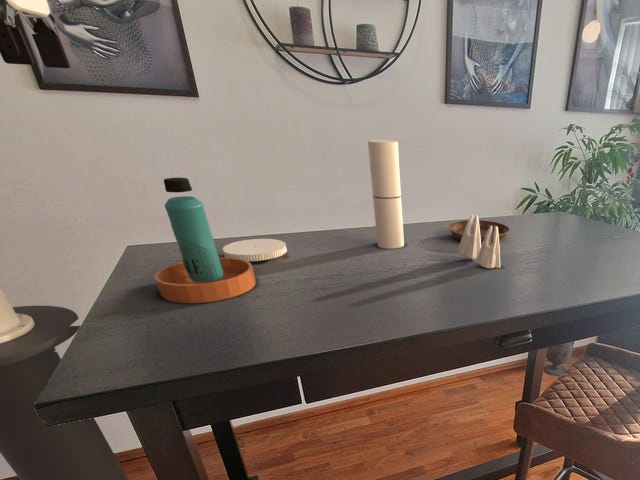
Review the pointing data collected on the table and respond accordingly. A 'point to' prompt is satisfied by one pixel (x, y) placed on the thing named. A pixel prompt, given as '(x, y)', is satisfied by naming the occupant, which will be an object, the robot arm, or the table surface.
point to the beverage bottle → (192, 233)
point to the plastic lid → (255, 249)
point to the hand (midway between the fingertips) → (40, 66)
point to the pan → (184, 290)
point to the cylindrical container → (386, 192)
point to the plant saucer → (484, 226)
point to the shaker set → (473, 248)
